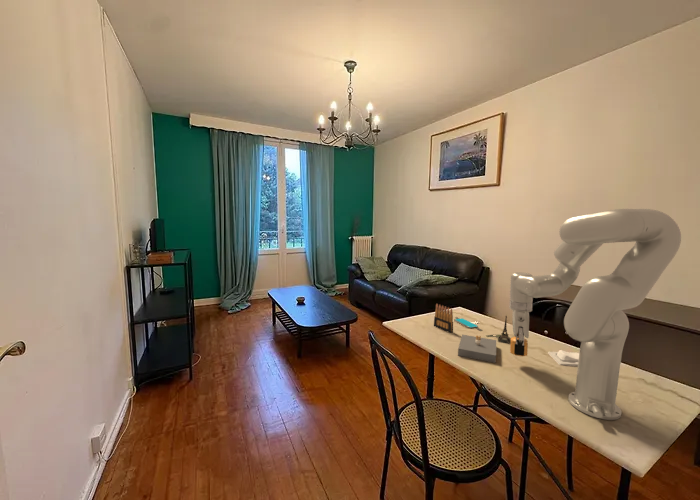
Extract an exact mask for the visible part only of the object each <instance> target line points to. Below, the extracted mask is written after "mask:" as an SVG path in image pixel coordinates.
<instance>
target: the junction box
mask: <svg viewBox="0 0 700 500" xmlns="http://www.w3.org/2000/svg"><path fill="white" fill-rule="evenodd" d="M457 356H458V357H463V358H469V359H473V360H480V361H485V362H489V363H494V364H495V363H496V362H497V339H492V338H486V337H481V335H468V334H462V335H461V337H460V341H459V344H458V349H457Z"/></svg>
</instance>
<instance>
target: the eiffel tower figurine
mask: <svg viewBox="0 0 700 500" xmlns="http://www.w3.org/2000/svg"><path fill="white" fill-rule="evenodd" d="M507 318H508V317H507V315H505V319H504V327H503V329H502V333H501V334H495V335H496V336H493V335H494V334H487V335H485V338H486V337H487V338H497V343H501V344H506V345H510V344H511V338H512V337H510V336H509V334H508V327H507V323H508V322H507Z"/></svg>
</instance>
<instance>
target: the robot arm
mask: <svg viewBox="0 0 700 500" xmlns="http://www.w3.org/2000/svg"><path fill="white" fill-rule="evenodd" d="M559 237H560V239H561V242H560V243H559V245H558V246H557V247H556V248H555V249H554V252H553V255H554V257H555V259H556V260H557V261H558V262H559V264H558V266H557V267H556V268H554V270H553V271H552V272H550V274H543V275H532V274H531V273H528V272H512V273H511V275H510V285H509V286H510V287H509V289H510V291H509V306H508V307H509V310H511V311H512V331H513V337H516V344H515V349H514V354H515V355H514V354H513V355H514V356H516V355H522V356H521V357H525V356H524V347H525V345H524V339H529V338H530V337H529V336H530V313H531V312H533V300H534V298H535V299H538V298H546V297H554V296H555V297H556V296H558V295H561V294H563V292H565V291H566V290H568V288H570V287H571V285H573V284H574V283H575V282H576V281H577V279H578V276H579V274H580V272H581V266H582V265H583V264H584V263H586V261H587V260H588V259H589V258H590V257H591V256H593V255H594V253H595V252H596V251H597V250H599V249H600V247H602V246H603V245H604V244H610V243H611V244H612V243H613V244H615V243H629V242H630V243H632V242H633V243H634V242H635V244H634V245H633V246H632V248H630V249H629V250H628V251H627V252H626V253H625V254H624V255H623V257H621V259H620V262H619V263H618V264H617V266H616V267H615V268H614V270H613V271H612V272H611V273H610V274H608V275H600V276H595V277H593V278H591V279H589V280H588V281H586V282H585V283H584V284H583V285H582V286H581V287H580V289H579V291H578V292H577V294H576V296H575V297H574V299H573V301H572V302H571V304H570V305H569V308H568V309H567V311H566V313H565V314H564V315H565V316H564V318H563V326H564V329H565V332H566V334H567V335H568V336H569V337H570V338H571V339H573V340H574V341H577V342H580V347H579V352H578V353H579V361H578V367H577V372H576V373H577V374H576V382H575V391H572V392H570V393H569V394H568V402H569V403H570V404H571V405H572V407H574V408H575V409H577V410H578V411H580V412H582V413H584V414H586V415H587V416H590V417H593V418H597V419H600V420H601V419H602V420H606V421H607V420H608V421H616V420H618V419H621V417H622V409H621V407H620V406H618V405H617V404H616V401H617V392H618V386H619V385H618V384H619V376H620V370H621V369H620V368H621V363H622V356H623V349H624V346H625V342H626V339H627V336H628V333H629V329H630V322H629V318H628V316H627V314H626V313H625V312H624V311H625V310H629V309H634V308H636V307H638V306H640V305H641V304H642V303H643V302H644V300H645V299H646V297H647V296H648V294H649V293H650V291H651V290H652V289H653V288H654V286H655V285H656V283H657V282H658V281H659V279H660V277H661V276H662V274H663V273H664V272H665V270H666V269H667V268H668V266H669V264H670V263H671V262H672V261H673V259H674V257H675V256H676V255H677V253H678V252H679V249H680V247H681V242H682V234H681V229H680V227H679V225H678V223H677V222H676V221H675V220H674V219H673V218H672V217H670V215H669V214H667V213H665V212H663V211H661V210H657V209H651V208H650V209H649V208H616V209H610V210H604V211H597V212H593V213H587V214H579V215H574V216H571V217H569V218H568V219H565V220H564V222H562V224H561V226H560V228H559ZM517 338H519V339H518V340H517Z"/></svg>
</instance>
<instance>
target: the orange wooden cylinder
mask: <svg viewBox="0 0 700 500" xmlns="http://www.w3.org/2000/svg"><path fill="white" fill-rule="evenodd" d="M510 338H511V344H509V345H510V347H509V348H510V349H509V351H510V352H509V353H510V354H511V355H513V356H519V357H526V356H528V348H529V347H528V346H529V345H528V340H527V338H524V345H525V347H524V356H522V355H515V354H514V349H515V344H516V337H515V336H513V337H510ZM518 339H519V338H517V340H518Z"/></svg>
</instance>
